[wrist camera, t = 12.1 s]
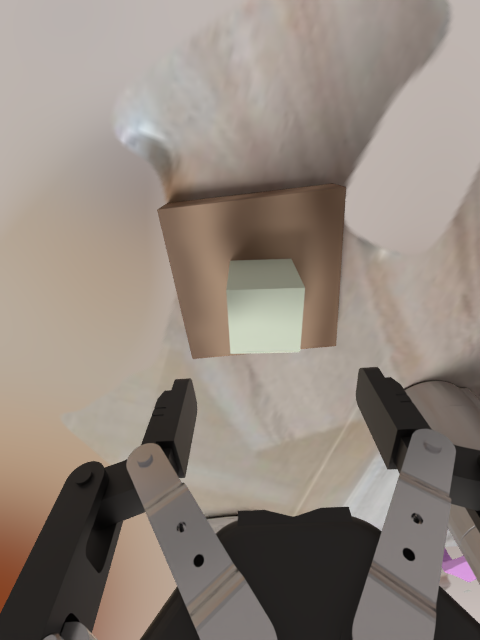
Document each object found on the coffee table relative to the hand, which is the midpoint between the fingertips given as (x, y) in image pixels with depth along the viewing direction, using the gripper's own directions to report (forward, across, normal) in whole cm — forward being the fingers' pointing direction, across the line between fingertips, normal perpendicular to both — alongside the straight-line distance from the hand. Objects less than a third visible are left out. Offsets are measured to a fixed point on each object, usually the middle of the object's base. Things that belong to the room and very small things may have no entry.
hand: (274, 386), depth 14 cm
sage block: (+12, 0, 0) cm, 12 cm away
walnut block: (+16, 0, 0) cm, 16 cm away
